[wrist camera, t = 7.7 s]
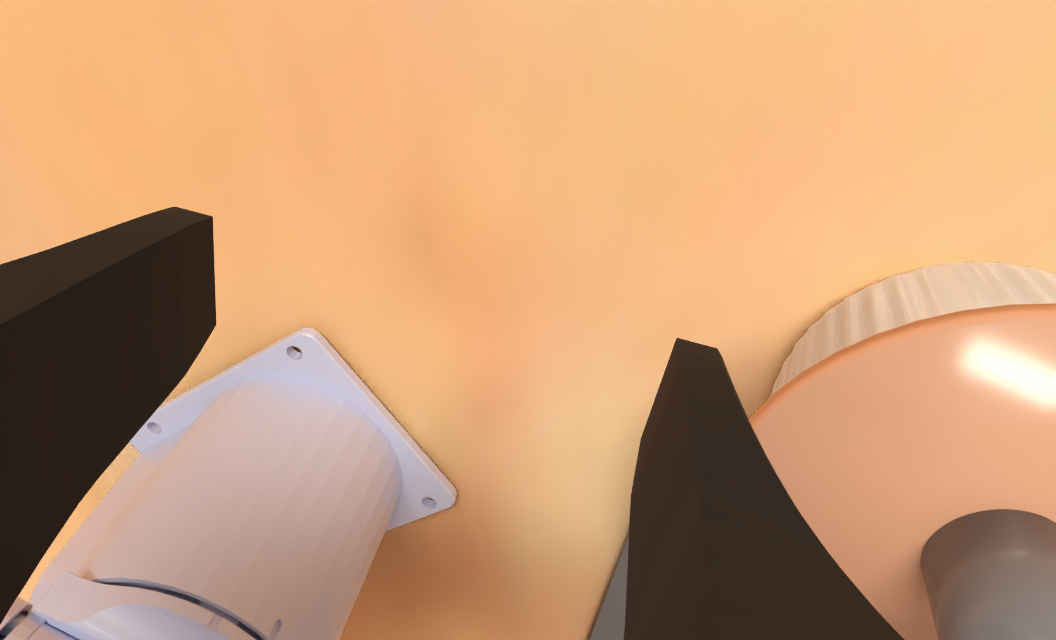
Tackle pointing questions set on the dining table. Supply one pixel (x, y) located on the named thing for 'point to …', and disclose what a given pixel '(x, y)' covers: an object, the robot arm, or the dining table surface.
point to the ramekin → (915, 305)
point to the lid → (933, 470)
